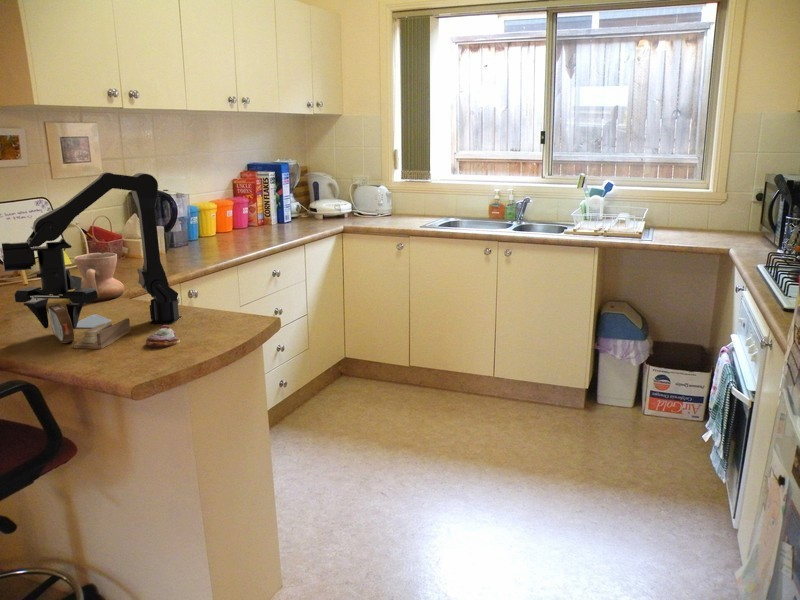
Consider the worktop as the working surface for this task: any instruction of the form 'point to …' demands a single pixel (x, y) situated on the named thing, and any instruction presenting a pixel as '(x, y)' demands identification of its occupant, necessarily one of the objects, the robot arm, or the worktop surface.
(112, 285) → the ceramic jug
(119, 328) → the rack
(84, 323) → the slate mat
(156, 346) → the pastry
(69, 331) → the tin
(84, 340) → the offcut lower
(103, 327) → the offcut upper
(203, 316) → the worktop surface
